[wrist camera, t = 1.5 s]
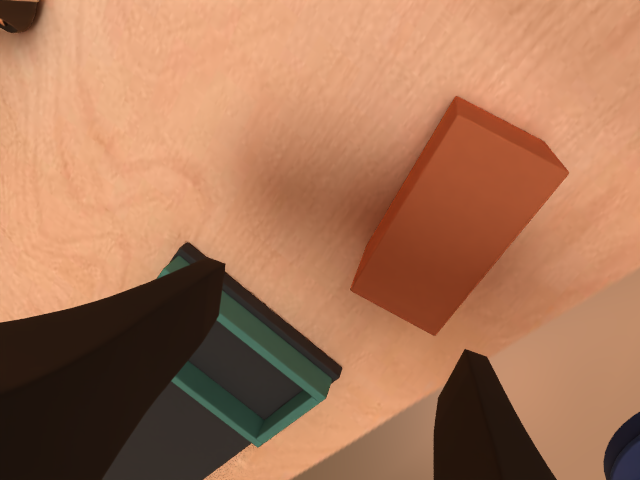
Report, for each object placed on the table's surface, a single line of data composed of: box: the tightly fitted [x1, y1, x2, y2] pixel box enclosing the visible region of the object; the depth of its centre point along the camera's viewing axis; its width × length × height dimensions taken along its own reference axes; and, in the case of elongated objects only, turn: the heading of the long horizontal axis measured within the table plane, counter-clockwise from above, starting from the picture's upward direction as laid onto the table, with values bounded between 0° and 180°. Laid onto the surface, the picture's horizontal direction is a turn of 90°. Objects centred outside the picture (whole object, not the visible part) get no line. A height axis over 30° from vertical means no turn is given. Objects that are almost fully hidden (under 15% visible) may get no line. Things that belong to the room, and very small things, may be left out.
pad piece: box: [350, 96, 569, 336], centre depth 17 cm, size 4×8×4 cm, turn 156°
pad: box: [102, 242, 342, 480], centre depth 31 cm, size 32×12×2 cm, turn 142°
